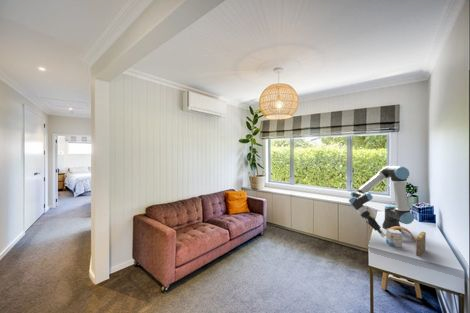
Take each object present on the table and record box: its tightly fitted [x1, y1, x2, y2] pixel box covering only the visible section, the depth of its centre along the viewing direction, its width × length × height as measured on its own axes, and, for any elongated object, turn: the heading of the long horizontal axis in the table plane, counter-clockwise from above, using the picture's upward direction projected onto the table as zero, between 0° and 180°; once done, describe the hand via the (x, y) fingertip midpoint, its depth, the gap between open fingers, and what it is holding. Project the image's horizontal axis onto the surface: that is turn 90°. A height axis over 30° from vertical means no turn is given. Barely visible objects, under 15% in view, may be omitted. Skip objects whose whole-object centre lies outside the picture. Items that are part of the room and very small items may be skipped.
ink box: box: [385, 229, 403, 248], centre depth 171 cm, size 9×8×12 cm
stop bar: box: [415, 230, 427, 257], centre depth 157 cm, size 18×2×14 cm, turn 128°
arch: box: [385, 225, 416, 242], centre depth 184 cm, size 6×20×10 cm, turn 59°
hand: (384, 236), depth 176 cm, fingers closed
